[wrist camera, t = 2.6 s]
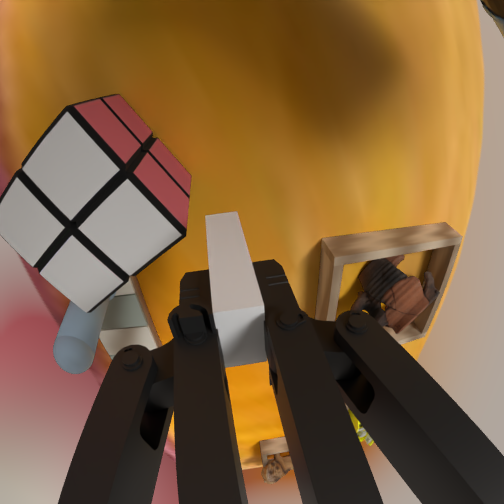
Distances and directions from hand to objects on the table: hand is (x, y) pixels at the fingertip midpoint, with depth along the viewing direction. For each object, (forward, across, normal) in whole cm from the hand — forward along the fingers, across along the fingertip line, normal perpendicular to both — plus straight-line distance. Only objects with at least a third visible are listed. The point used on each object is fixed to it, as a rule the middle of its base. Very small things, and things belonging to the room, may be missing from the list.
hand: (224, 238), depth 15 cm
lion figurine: (+13, +7, -66) cm, 68 cm away
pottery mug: (+12, +18, -16) cm, 27 cm away
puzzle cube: (+12, -9, +1) cm, 15 cm away
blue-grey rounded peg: (+11, -13, -8) cm, 18 cm away
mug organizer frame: (+12, +18, -17) cm, 27 cm away
